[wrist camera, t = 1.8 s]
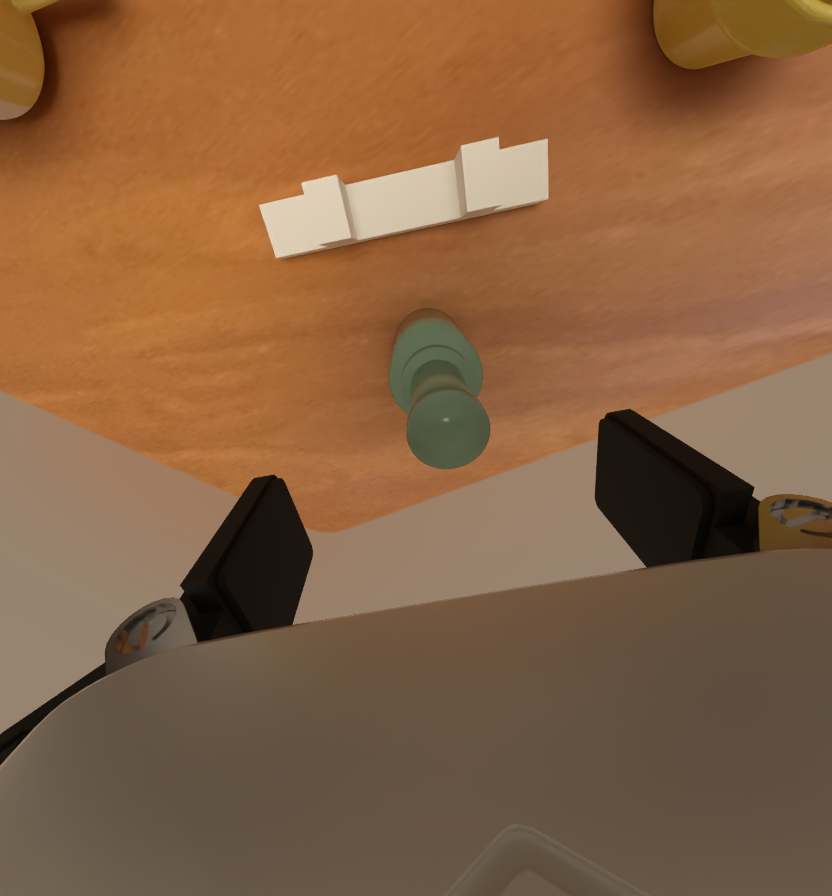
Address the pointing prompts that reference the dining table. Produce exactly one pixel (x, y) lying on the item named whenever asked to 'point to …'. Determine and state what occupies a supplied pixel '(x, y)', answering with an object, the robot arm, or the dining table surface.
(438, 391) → the green bottle
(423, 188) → the u rest
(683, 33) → the plant pot
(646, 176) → the dining table surface
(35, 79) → the mug
